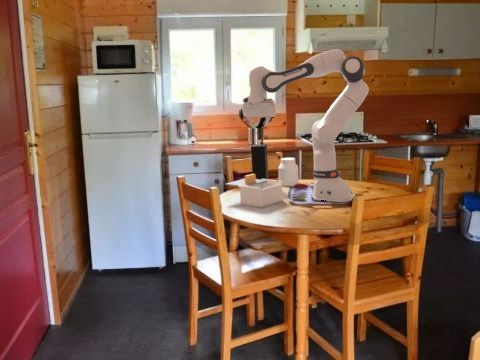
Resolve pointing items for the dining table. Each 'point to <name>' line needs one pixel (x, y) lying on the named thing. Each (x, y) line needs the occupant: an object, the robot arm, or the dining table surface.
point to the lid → (247, 181)
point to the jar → (288, 172)
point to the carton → (261, 194)
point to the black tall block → (259, 160)
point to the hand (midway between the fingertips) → (259, 125)
